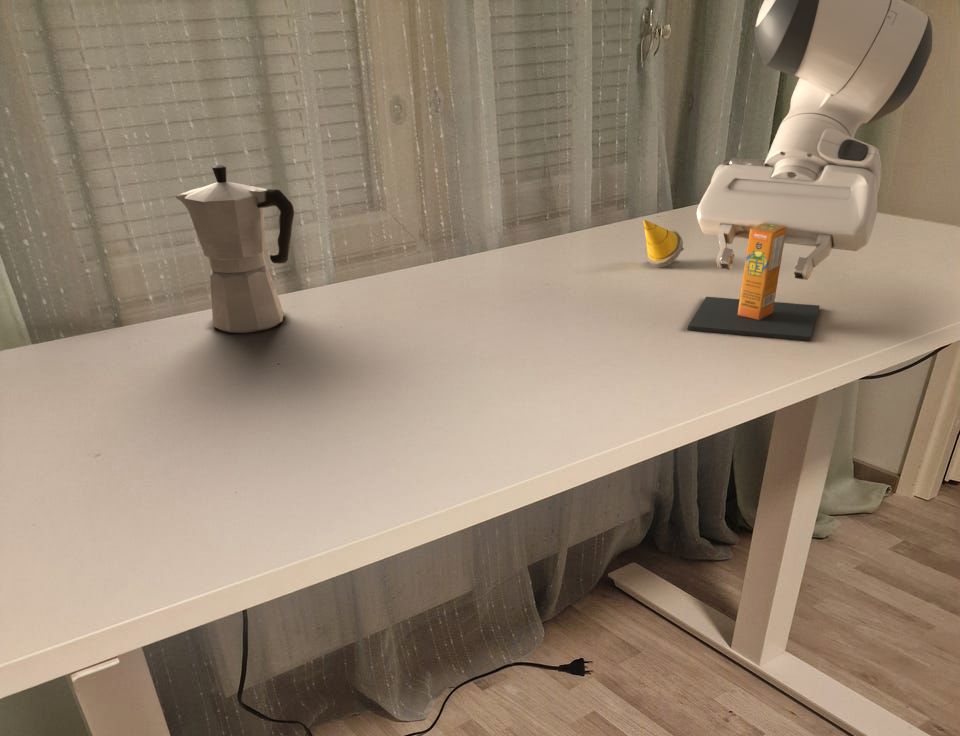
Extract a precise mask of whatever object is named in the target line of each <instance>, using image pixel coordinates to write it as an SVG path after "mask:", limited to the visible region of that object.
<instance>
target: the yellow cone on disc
mask: <svg viewBox="0 0 960 736" xmlns="http://www.w3.org/2000/svg"><path fill="white" fill-rule="evenodd" d="M643 226H644V227H643V228H644V234H645V241H646V248H645V252H644V253H645V258H646V260H647V262H649V264H650V265H651V266H652V267H655V268H664V267H667V266H669V265H670V264H672V263H673V262H675V260H677V259H678V257H679V256H680V254H681V253H682V252H683V251H684V250H685V248H684V241H683V238H682V236H681V235H680V233H679V232H678V231H677V230H675V229H671V228H670V229H669V228H668V229H667V228H665V227H662V226H660V225H657V224H656V223H654V222H651V221H649V220H647V219H643Z"/></svg>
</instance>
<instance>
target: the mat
mask: <svg viewBox="0 0 960 736" xmlns="http://www.w3.org/2000/svg"><path fill="white" fill-rule="evenodd" d="M739 301H740V298H729V297H728V298H727V297H717V296H705V298H704V299H703V300H702V303H701V304H700V305H699V307H698V309H697V310H696V312H695V314H694V315H693V317H692V319H691V320H690V322H689V323H688V325H687V331H696V332H706V333H715V334H728V335H738V336H751V337H761V338H770V339H771V338H773V339H783V340H793V341H805V342H810V341H811V338H812V335H813V331H814V327H815V324H816V321H817V318H818V314H819V310H820V305H819V304H806V303H805V304H804V303H793V302H780V301H775V302H774V308H773V313H772V314H770V315H769V316H767V317H765V318H763V319H761V320H756V319H752V318H748V317H743V316H739V315H738V308H739Z"/></svg>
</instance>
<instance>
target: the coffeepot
mask: <svg viewBox="0 0 960 736" xmlns="http://www.w3.org/2000/svg"><path fill="white" fill-rule="evenodd" d="M211 169H212V171H213V174H214V177H215V179H216V182H214V183H213V182H212V183H211V184H208V185H205V186H202V187H198V188H194V189H191V190H187V191H183V192H182V193H179V194H176V196H175V198H176V200H178V201H180V202H181V203H182V204H183V206H184V207H185V209H187V211H188V214H189V216H190V219H191V221H192V224H193V227H194V230H195V233H196V235H197V238H198V241H199V243H200V247H201V249H202V252H203V255H204V256H205V257H207V258H208V260H209V266H210V270H211V271H210V273H209V277H210V297H211V312H212V313H211V315H212V326H213V327H214V328H216V329H218V330H219V331H221V332H224V333H225V332H226V333H234V334H235V333H236V334H242V333H243V334H244V333H245V334H246V333H254V332H259V331H265V330H268V329H271V328H274V327H276V326H278V325H279V324H281V323H282V322H283V319H284V310H283V309H284V308H283V306H282V303H281V301H280V297H279V295H278V291H277V289H276V286H275V283H274V280H273V276H272V274H271V270H270V268H269V266H268V265H267V264H266V260H265V254H264V252H265V249H266V231H265V210H264V209H265V208H270V207H276V208H277V209H278V211H279V212H280V213H279V216H278V227H279V228H278V229H279V231H278V236H277V239H276V241H277V248H278V253H277V254H270V255H269V259H270V261H271V262H272V263H273V264H278V265H279V264H285V263H287V262H288V261H289V253H290V244H291V237H292V229H293V222H294V217H295V210H294V205H293V203H292V202H291V201H290V199H289V198H288V197H287V196H286V194H285V193H283V192H282V190H280V189H279V188H263V187H259V186H254V185H247V184H242V183H237V182H232V181H228V180H227V166H226V165H224V164H220V163H219V164H215V165H214V166H212V167H211Z"/></svg>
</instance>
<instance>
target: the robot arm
mask: <svg viewBox="0 0 960 736" xmlns="http://www.w3.org/2000/svg"><path fill="white" fill-rule="evenodd" d="M753 31H754V32H753V33H754V37H755V42H756V46H757V50H758V53H759V56H760V58H761V60H762V62H763V65H764V66H766V67H768V68H771V69H773V70H776V71H779V72H781V73H784V74H786V75H789V76H792V77H793V76H795V77H798V80H797V83H796V85H795V87H794V90H793V92H792V95H791V98H790V104H789V105H790V106H789V111H788V113H787V115H786V116H785V117H784V118H783V119H782V121H781V123H780V125H779V126H778V129H777V131H776V134H775V137H774V139H773V142H772V143H771V146H770V149H769V151H768V153H767V156H766V158H765V159H762V158H751V159H749V158H747V159H746V158H742V157H732V158H731V159H730V160H728V161H725V162H723V163H721V164H719V165H717V167H716V168H715V170H714V172H713V175H712V177H711V180H710V184H709V185H708V186H707V189H706V190H705V193H704V194H703V196H702V198H701V200H700V202H699V204H698V207H697V209H696V220H697V222H698V225H699V228H700V230H701V231H702V233H703V234H704V235H710V236H716V237H718V242H719V248H720V250H719V252H718V255H717V257H716V261H715V264H716V266H717V269H722V270H723V269H724V270H731V269H732V267H733V266H732V264H734V262H735V259H736V256H735V254H734V249H733V248H729V247H728V245H732V244H733V242H734V241H735V240H734V239H736V238H737V239H744V240H749V234H750V229H751V228H753V227H755V226H757V225H760V224H762V223H768V224H773V225H779V226H786V235H785V240H784V244H789V245H797V246H805V247H814V248H815V249H814V250H813V251H811V253H810V254H809V255H807V256H806V257H803V256H801V257H800V256H799V258H798V260H797V264H796V265H795V267H794V269H793V270H794V271H793V275H794V278H795V279H799V280H805V281H808V280H809V279H810V277H811V274H812V272H813V270H814V268H816V267H817V266H818V265H820V264H821V263H822V262H823V261H824V260H825V259H827V258H828V257H829V256H830V253H831V251H832V249H833V250H840V251H850V252H858V251H860V250H861V249H862V248H865V246H866V245H867V244H868V243H869V240H870V239H871V235H872V232H873V230H874V226H875V222H876V219H877V214H878V193H879V191H880V188H881V183H882V160H881V155H880V151H879V149H878V147H876V146H874V145H872V144H869V143H866V142H864V141H861V140H859V139H857V138H855V135H856V132H857V131H858V129H859V127H860V126H861V125H863V124H864V125H868V124H872V123H874V122H876V121H878V120H880V119H882V118H884V117H885V116H887V115H890V114H891V113H893V112H895V111H896V110H897V109H899V108H900V107H901V106H903V104H904V103H905V102H906V101H907V100H908V99H909V98H910V96H911V94H912V93H913V92H914V90H915V89H916V87H917V84H918V82H919V81H920V79H921V77H922V74H923V73H924V70H925V68H926V66H927V63H928V61H929V59H930V56H931V53H932V51H933V26H932V21H931V19H930V16H929V15H926V13H924V11H922V10H920V9H918V8H917V7H915V6H913V5H911V4H910V3H908V2H906V1H904V0H763V2H762V4H761V6H760V9H759V12H758V15H757V17H756V22H755V25H754V28H753Z"/></svg>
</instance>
